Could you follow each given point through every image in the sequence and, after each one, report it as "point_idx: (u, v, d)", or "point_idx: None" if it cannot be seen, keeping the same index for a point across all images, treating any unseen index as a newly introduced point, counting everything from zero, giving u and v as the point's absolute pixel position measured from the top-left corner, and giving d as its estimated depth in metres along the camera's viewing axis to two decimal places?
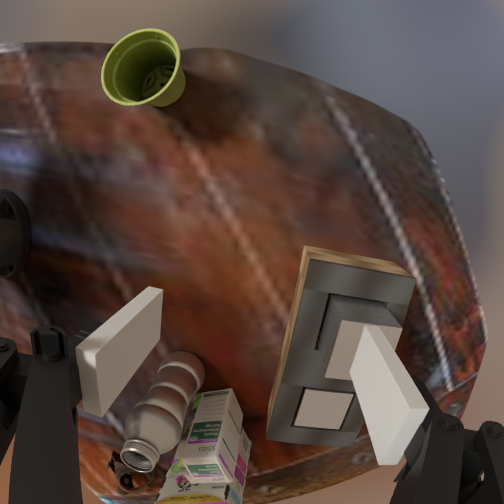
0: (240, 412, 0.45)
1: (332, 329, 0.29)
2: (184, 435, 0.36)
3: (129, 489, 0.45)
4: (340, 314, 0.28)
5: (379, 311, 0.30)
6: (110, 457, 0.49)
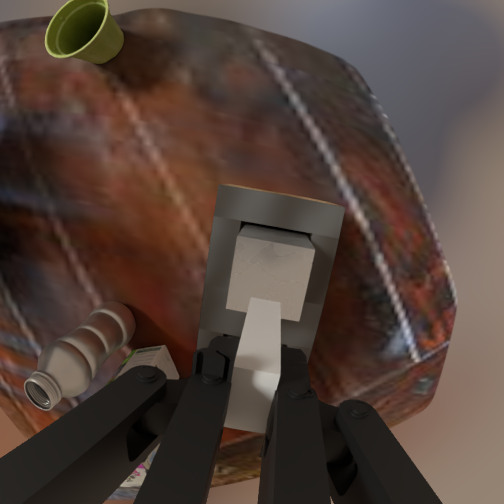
0: (175, 373, 0.42)
1: None
2: None
3: None
4: (240, 233, 0.26)
5: (296, 238, 0.28)
6: None
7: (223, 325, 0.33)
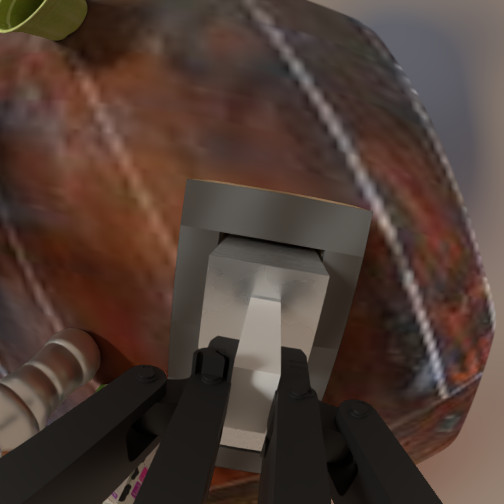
0: None
1: None
2: None
3: None
4: (216, 250, 0.17)
5: (299, 255, 0.19)
6: None
7: None
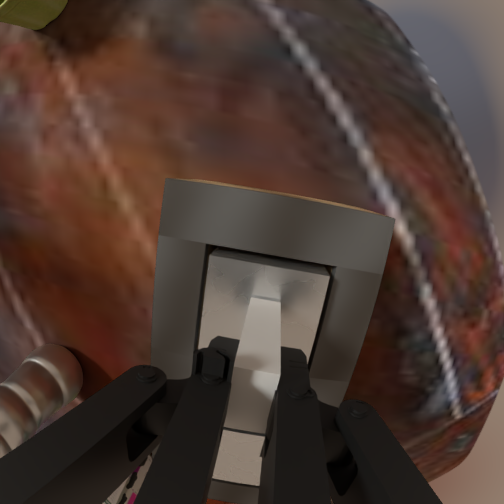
0: None
1: None
2: None
3: None
4: (216, 250, 0.17)
5: None
6: None
7: None
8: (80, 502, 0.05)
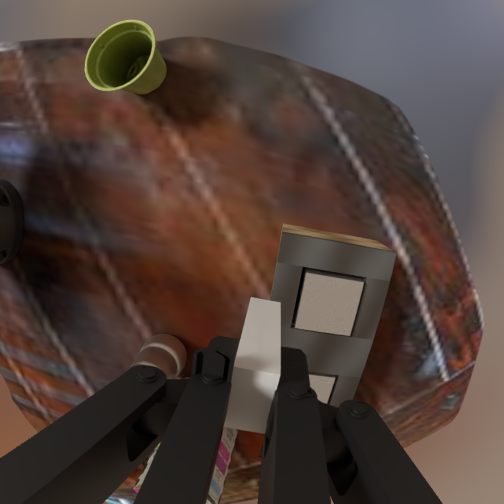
0: None
1: (301, 285, 0.34)
2: None
3: None
4: (306, 269, 0.33)
5: None
6: None
7: None
8: (80, 502, 0.05)
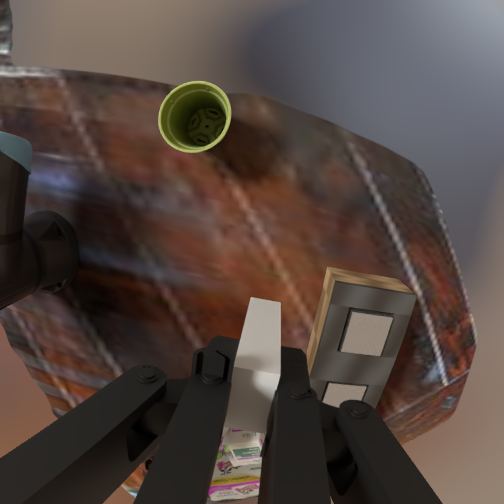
0: None
1: None
2: None
3: None
4: (351, 308, 0.42)
5: None
6: None
7: (328, 375, 0.43)
8: (80, 502, 0.05)
